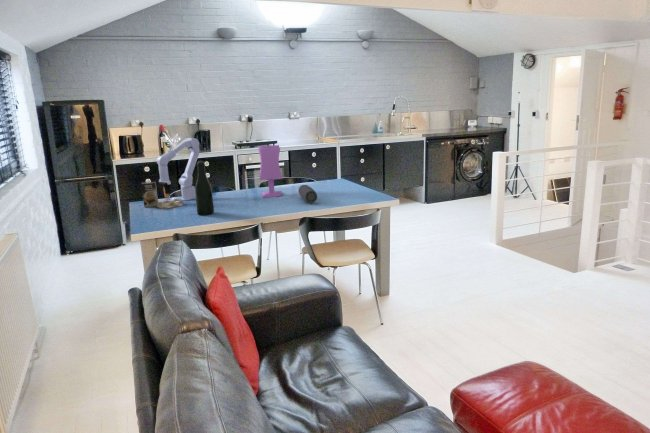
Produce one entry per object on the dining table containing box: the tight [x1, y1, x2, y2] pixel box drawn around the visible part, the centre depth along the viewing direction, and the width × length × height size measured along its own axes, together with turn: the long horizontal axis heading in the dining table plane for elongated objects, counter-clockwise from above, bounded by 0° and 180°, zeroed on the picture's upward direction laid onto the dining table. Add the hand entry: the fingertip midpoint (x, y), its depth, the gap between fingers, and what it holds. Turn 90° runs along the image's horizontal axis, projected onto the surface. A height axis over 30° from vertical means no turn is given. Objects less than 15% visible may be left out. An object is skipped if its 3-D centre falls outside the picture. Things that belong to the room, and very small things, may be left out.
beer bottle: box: [194, 160, 215, 216], centre depth 289 cm, size 10×10×33 cm
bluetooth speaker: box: [298, 184, 318, 204], centre depth 317 cm, size 23×9×10 cm, turn 14°
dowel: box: [163, 183, 170, 199], centre depth 326 cm, size 3×3×10 cm
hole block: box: [156, 198, 184, 210], centre depth 318 cm, size 14×10×3 cm
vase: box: [257, 144, 283, 198], centre depth 337 cm, size 16×16×35 cm
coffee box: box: [140, 181, 159, 208], centre depth 319 cm, size 9×6×16 cm
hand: (166, 193), depth 326 cm, fingers closed on dowel, 3 cm apart
